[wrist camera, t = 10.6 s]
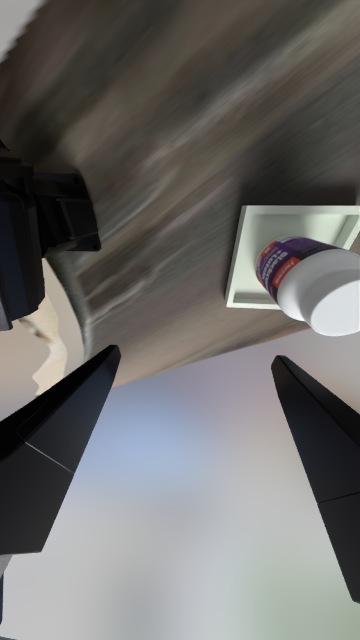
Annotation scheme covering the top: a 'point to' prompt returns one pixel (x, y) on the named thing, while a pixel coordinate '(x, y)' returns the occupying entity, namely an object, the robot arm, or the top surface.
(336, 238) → the tray
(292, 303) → the pill bottle
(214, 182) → the top surface
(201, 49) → the top surface
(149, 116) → the top surface
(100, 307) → the top surface
